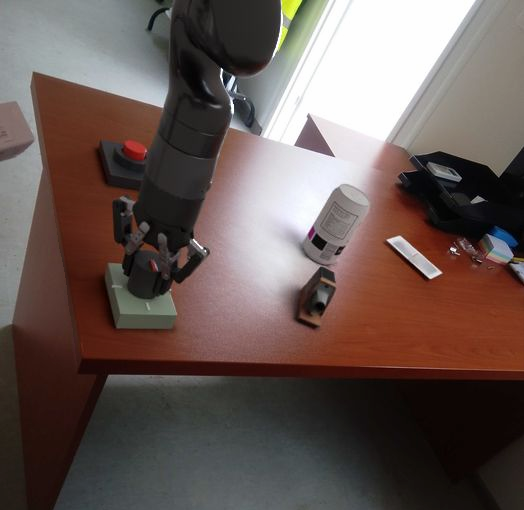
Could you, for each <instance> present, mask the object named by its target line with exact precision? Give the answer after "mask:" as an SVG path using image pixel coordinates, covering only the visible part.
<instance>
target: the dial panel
mask: <svg viewBox="0 0 524 510" xmlns="http://www.w3.org/2000/svg"><path fill="white" fill-rule="evenodd" d="M123 272H124V270H123V269H122V263H114V262H107V266H106V271H105V275H104V282H105V286H106V291H107V296H108V299H109V304H110V308H111V312H112V316H113V320H114V326H115V329H131V330H132V329H137V330H138V329H139V330H141V329H143V330H156V329H157V330H172V329H173V328H174V324H175V322H176V319H177V317H178V313H177V310H176V307H175V303H174V301H173V298H172V295H171V292H172V291H173V290H172V288H170V290H169V291H168V292H166V293H165V294H164V295H163V296H162V295H160V296H159V297H157V296H156V297H154V298H152V299H141V298H138V297H136V296H134V295H132V294H131V293H130V292H129V290H128V288H127V282H128V279H129V277H127V276H125V275H124V274H123Z"/></svg>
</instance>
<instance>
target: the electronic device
mask: <svg viewBox="0 0 524 510" xmlns="http://www.w3.org/2000/svg"><path fill="white" fill-rule="evenodd" d="M335 275H336V274H335V272H334V271H333V270H331V269H328V268H327V267H324V266H323V265H321V266H319V267H318V269H317V270H316V271H315V273H313V275H312V276H311V277H310V279H308V280H307V282H306V283H305V284H304V285H303V286H302V288H301V289H300V295H299V301H298V311H297V312H298V313H297V317H296V318H297V320H298V321H299V322H301V323H303V324H306V325H308V326H310V327H312V328H314V329H316V328H321V327H322V321H323V316H324V313H325V312H326V310H327V308H328V307H329V305H330V303H331V302H332V300H333V297H334V296H335V293H336V291H337V282H336V277H335Z"/></svg>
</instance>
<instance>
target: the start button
mask: <svg viewBox="0 0 524 510" xmlns="http://www.w3.org/2000/svg"><path fill="white" fill-rule="evenodd" d="M124 143H125V144H124V149H123V153H124V154H125V155H126V156H128V157H130V158H132V159H135V160H144V158H145V154H146V150H147V148H146V146H145V145H143V144H142V143H141V142H138V141H135V140H130V139H129V140H126V141H124Z"/></svg>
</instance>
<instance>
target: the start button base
mask: <svg viewBox="0 0 524 510" xmlns="http://www.w3.org/2000/svg"><path fill="white" fill-rule="evenodd" d="M124 144H125V142H115V141H110V140H105V139H102V138H100V139H99V145H98V153H99V156H100V160H101V163H102V166H103V167H102V168H103V171H104V174H105V177H106V181H107V185H108V186H111V187H117V188H123V189H129V190H135V191H139V190H140V186H141V182H142V178H143V174H144V170H145V166H146V162H147V159H148V155H149V151H150V149H146V154H145V158H144V160H135V159H132V158H130V157H128V156H126V155H125V154H124V153H123V149H124Z"/></svg>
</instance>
